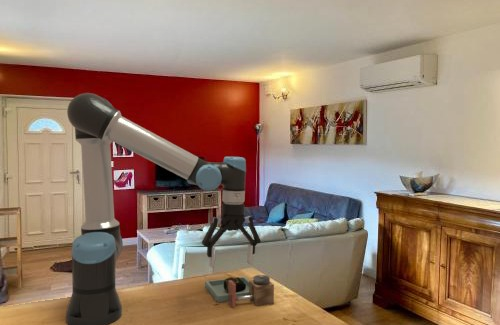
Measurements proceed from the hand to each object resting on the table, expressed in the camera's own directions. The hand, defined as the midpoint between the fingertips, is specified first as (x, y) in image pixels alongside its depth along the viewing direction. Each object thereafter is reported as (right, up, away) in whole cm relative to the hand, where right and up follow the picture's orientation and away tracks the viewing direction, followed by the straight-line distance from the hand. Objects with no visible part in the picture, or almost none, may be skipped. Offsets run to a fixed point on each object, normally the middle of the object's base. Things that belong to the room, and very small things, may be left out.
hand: (230, 265), depth 141 cm
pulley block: (+10, -10, -7) cm, 16 cm away
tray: (0, -9, +1) cm, 9 cm away
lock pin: (+7, -9, -9) cm, 14 cm away
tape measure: (+1, -9, +1) cm, 9 cm away
